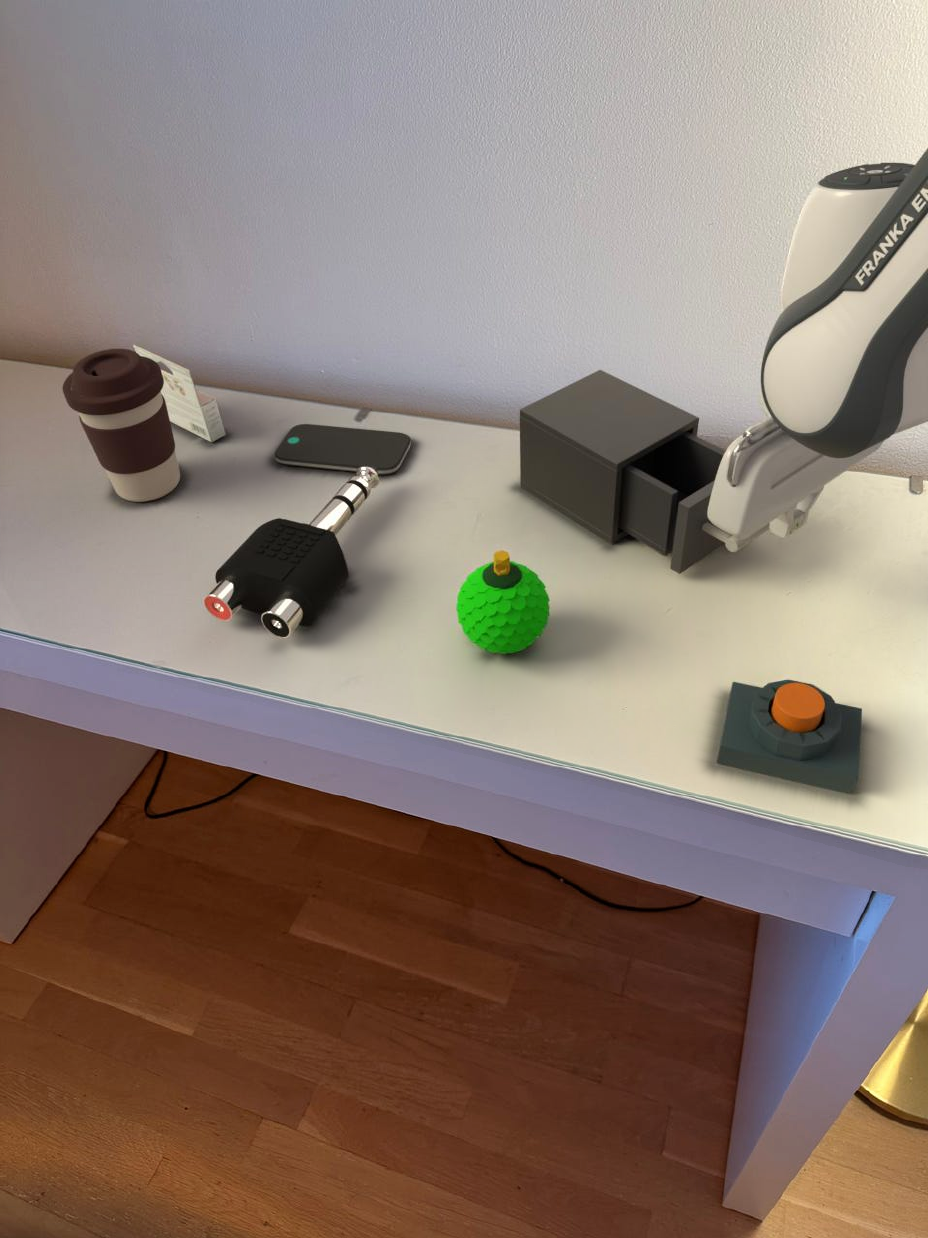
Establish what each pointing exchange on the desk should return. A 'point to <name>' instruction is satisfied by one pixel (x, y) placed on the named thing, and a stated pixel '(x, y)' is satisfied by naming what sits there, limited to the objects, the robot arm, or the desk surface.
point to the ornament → (503, 606)
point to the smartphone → (343, 448)
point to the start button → (798, 707)
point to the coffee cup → (126, 421)
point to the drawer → (676, 501)
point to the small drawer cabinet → (593, 446)
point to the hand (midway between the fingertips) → (786, 528)
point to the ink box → (187, 401)
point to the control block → (791, 740)
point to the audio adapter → (290, 564)
